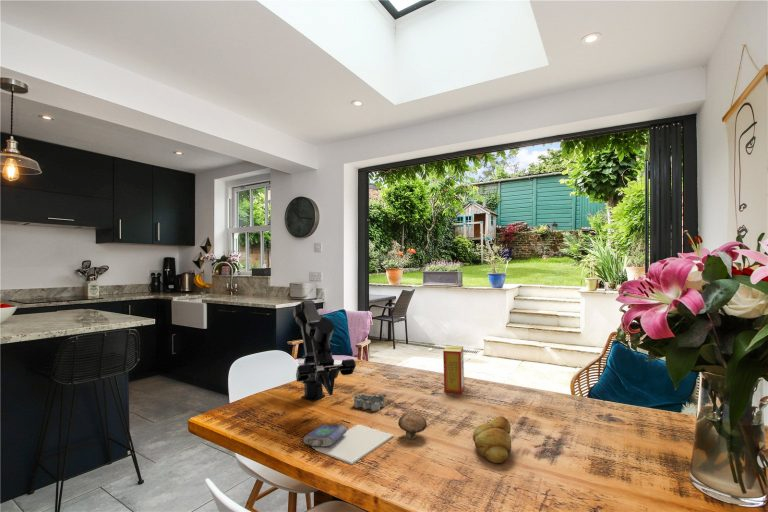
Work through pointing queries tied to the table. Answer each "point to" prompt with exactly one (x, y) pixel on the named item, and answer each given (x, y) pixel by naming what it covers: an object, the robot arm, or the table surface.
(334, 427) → the flask
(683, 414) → the table surface
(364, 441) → the serving board
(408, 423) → the mushroom
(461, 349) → the baking soda box
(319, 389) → the robot arm
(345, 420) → the table surface
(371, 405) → the egg carton
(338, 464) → the table surface
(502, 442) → the bread roll
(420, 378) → the table surface
